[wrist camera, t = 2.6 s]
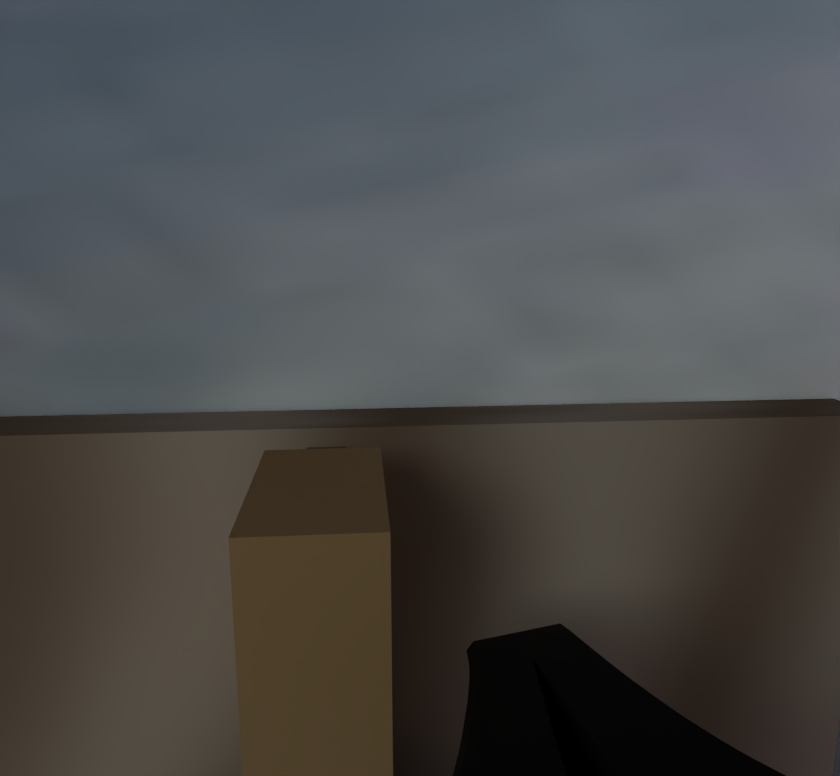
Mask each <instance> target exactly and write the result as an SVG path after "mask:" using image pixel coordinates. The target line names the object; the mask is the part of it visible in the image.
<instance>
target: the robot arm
mask: <svg viewBox="0 0 840 776" xmlns="http://www.w3.org/2000/svg"><path fill="white" fill-rule="evenodd" d="M466 651H467V656H468V662H469V690H468V701H467V708H466V714H465V720H464V726H463V732H462V738H461V743H460V748H459V753H458V757H457V760H456V764H455V768H454V772H453V776H786V775H784V774H782V773H780V772H778V771H776V770H774V769H772V768H770V767H768V766H767V765H765V764H763V763H761V762H759V761H757V760H755V759H753V758H751V757H749V756H748V755H746V754H744V753H742V752H741V751H739V750H737V749H735V748H734V747H732V746H730V745H728V744H727V743H725V742H723V741H722V740H720V739H718V738H717V737H715V736H714V735H712V734H710V733H709V732H707V731H706V730H704V729H702V728H701V727H699V726H698V725H696V724H695V723H693V722H691V721H690V720H688V719H687V718H685V717H684V716H682V715H681V714H679V713H678V712H676V711H675V710H673V709H672V708H670V707H669V706H668V705H666V704H665V703H663V702H662V701H661V700H659V699H658V698H656V697H655V696H654V695H652V694H651V693H650V692H648V691H647V690H645V689H644V688H643V687H641V686H640V685H638V684H637V683H636V682H634V681H633V680H632V679H630V678H629V677H628V676H626V675H625V674H624V673H622V672H621V671H620V670H619V669H617V668H616V667H615V666H613V665H612V664H611V663H610V662H608V661H607V660H606V659H605V658H603V657H602V656H601V655H600V654H598V653H597V652H596V651H595V650H593V649H592V648H591V647H590V646H588V645H587V644H586V643H585V642H584V641H582V640H581V639H580V638H579V637H578V636H576V635H575V634H574V633H573V632H571V631H570V630H569V629H567V628H566V627H565V626H563V625H562V624H561V623H559V624H555V625H550V626H545V627H540V628H535V629H530V630H525V631H521V632H516V633H511V634H506V635H501V636H496V637H491V638H487V639H482V640H477V641H473V642H472V644H471V645H470V646H469V648H468V649H467V650H466Z"/></svg>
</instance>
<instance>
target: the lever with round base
mask: <svg viewBox="0 0 840 776" xmlns="http://www.w3.org/2000/svg"><path fill="white" fill-rule="evenodd" d="M228 540H229V556H230V573H231V590H232V607H233V624H234V641H235V658H236V675H237V692H238V709H239V726H240V743H241V760H242V776H393V722H392V628H391V534H390V524H389V515H388V507H387V498H386V490H385V481H384V473H383V464H382V456H381V447H369V448H330V449H292V450H264V453H263V455H262V458H261V460H260V462H259V465H258V467H257V470H256V472H255V475H254V477H253V479H252V482H251V484H250V487H249V489H248V492H247V494H246V496H245V499H244V501H243V504H242V506H241V509H240V511H239V513H238V516H237V518H236V521H235V523H234V526H233V528H232V530H231V533H230V535H229V538H228Z"/></svg>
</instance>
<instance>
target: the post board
mask: <svg viewBox="0 0 840 776" xmlns="http://www.w3.org/2000/svg"><path fill="white" fill-rule="evenodd" d="M369 447H381V456H382V464H383V473H384V481H385V490H386V498H387V507H388V515H389V524H390V534H391V628H392V722H393V776H453V772H454V768H455V764H456V760H457V757H458V753H459V748H460V743H461V738H462V732H463V726H464V720H465V714H466V708H467V701H468V690H469V662H468V656H467V651H466V650H467V649H468V648H469V646H470V645H471V644H472V642H473V641H477V640H482V639H487V638H491V637H496V636H501V635H506V634H511V633H516V632H521V631H525V630H530V629H535V628H540V627H545V626H550V625H555V624H559V623H561V624H562V625H563V626H565V627H566V628H567V629H569V630H570V631H571V632H573V633H574V634H575V635H576V636H578V637H579V638H580V639H581V640H582V641H584V642H585V643H586V644H587V645H588V646H590V647H591V648H592V649H593V650H595V651H596V652H597V653H598V654H600V655H601V656H602V657H603V658H605V659H606V660H607V661H608V662H610V663H611V664H612V665H613V666H615V667H616V668H617V669H619V670H620V671H621V672H622V673H624V674H625V675H626V676H628V677H629V678H630V679H632V680H633V681H634V682H636V683H637V684H638V685H640V686H641V687H643V688H644V689H645V690H647V691H648V692H650V693H651V694H652V695H654V696H655V697H656V698H658V699H659V700H661V701H662V702H663V703H665V704H666V705H668V706H669V707H670V708H672V709H673V710H675V711H676V712H678V713H679V714H681V715H682V716H684V717H685V718H687V719H688V720H690V721H691V722H693V723H695V724H696V725H698V726H699V727H701V728H702V729H704V730H706V731H707V732H709V733H710V734H712V735H714V736H715V737H717V738H718V739H720V740H722V741H723V742H725V743H727V744H728V745H730V746H732V747H734V748H735V749H737V750H739V751H741V752H742V753H744V754H746V755H748V756H749V757H751V758H753V759H755V760H757V761H759V762H761V763H763V764H765V765H767V766H768V767H770V768H772V769H774V770H776V771H778V772H780V773H782V774H784V775H786V776H833V772H834V764H835V756H836V749H837V741H838V733H839V726H840V401H839V400H836V399H801V400H755V401H708V402H662V403H616V404H570V405H524V406H478V407H431V408H385V409H339V410H293V411H247V412H201V413H154V414H108V415H62V416H16V417H0V776H242V760H241V743H240V726H239V709H238V692H237V675H236V658H235V641H234V624H233V607H232V590H231V573H230V556H229V540H228V538H229V535H230V533H231V530H232V528H233V526H234V523H235V521H236V518H237V516H238V513H239V511H240V509H241V506H242V504H243V501H244V499H245V496H246V494H247V492H248V489H249V487H250V484H251V482H252V479H253V477H254V475H255V472H256V470H257V467H258V465H259V462H260V460H261V458H262V455H263V453H264V450H292V449H330V448H369Z"/></svg>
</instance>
